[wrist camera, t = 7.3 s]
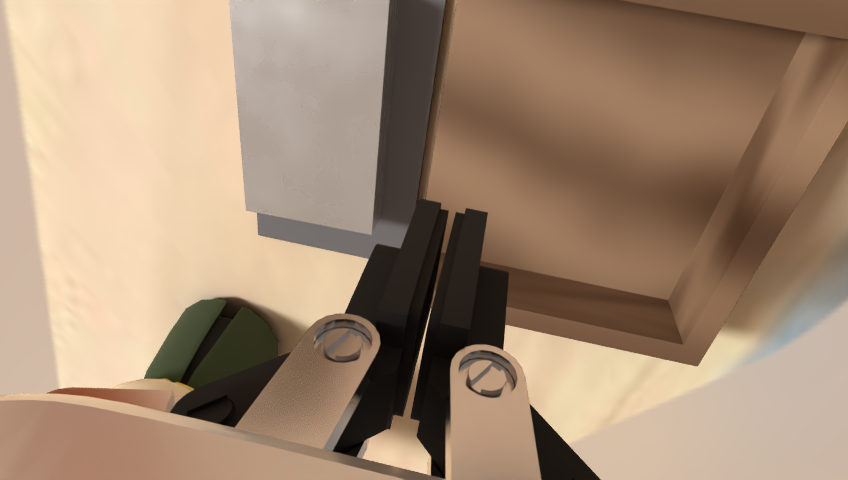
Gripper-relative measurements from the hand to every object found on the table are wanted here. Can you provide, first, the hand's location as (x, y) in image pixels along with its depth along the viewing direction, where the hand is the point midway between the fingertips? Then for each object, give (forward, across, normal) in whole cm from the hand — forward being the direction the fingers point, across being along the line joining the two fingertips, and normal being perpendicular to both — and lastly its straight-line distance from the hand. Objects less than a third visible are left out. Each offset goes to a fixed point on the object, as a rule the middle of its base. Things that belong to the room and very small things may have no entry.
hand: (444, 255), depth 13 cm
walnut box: (+11, -5, +1) cm, 12 cm away
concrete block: (+11, +7, +2) cm, 13 cm away
